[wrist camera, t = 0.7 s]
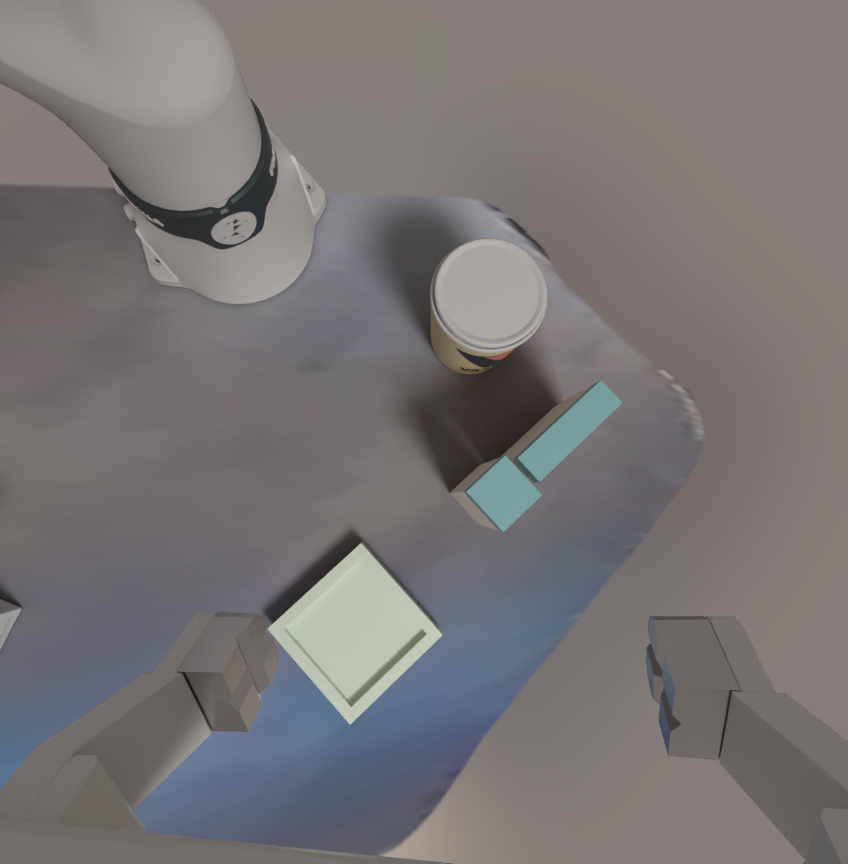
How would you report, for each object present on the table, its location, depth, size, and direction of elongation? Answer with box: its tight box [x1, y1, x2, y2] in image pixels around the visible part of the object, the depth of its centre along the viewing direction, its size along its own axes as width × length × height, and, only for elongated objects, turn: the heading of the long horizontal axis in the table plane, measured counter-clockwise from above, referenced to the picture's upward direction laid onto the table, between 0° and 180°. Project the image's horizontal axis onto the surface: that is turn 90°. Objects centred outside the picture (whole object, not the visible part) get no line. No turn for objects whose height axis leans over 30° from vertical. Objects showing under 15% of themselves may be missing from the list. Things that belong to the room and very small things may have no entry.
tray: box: [268, 541, 442, 724], centre depth 47 cm, size 11×11×2 cm
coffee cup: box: [430, 238, 547, 375], centre depth 46 cm, size 9×9×12 cm
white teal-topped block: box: [450, 455, 542, 532], centre depth 44 cm, size 4×4×12 cm
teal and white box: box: [501, 380, 622, 483], centre depth 45 cm, size 3×9×12 cm, turn 132°
